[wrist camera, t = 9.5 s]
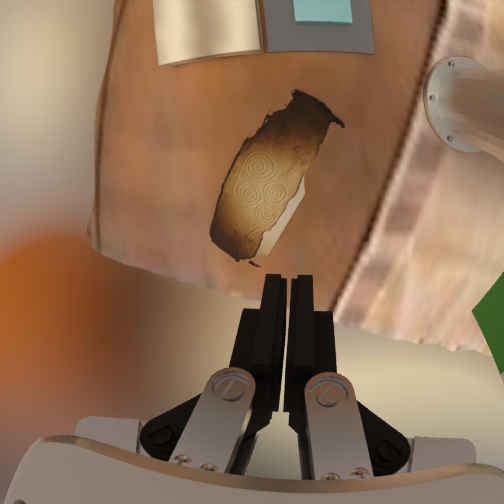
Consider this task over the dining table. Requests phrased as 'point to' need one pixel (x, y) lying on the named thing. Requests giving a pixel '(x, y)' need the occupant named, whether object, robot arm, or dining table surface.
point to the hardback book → (493, 321)
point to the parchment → (269, 178)
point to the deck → (206, 29)
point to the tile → (323, 12)
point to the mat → (317, 30)
